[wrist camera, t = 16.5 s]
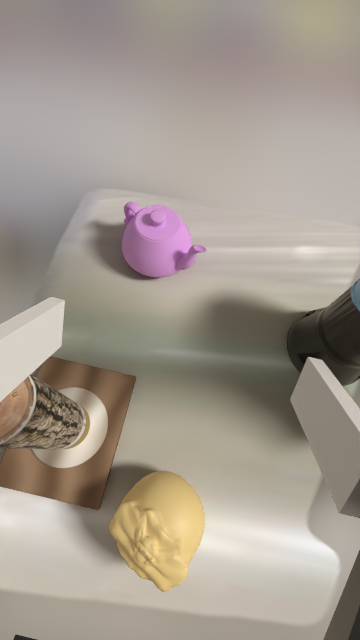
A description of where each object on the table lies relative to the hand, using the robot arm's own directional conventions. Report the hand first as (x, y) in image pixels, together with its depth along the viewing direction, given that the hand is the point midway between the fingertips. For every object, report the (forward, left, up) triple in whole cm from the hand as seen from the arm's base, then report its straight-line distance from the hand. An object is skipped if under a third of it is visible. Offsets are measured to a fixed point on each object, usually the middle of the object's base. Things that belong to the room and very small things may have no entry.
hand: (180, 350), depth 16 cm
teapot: (+8, -32, -38) cm, 50 cm away
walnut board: (+14, +4, -38) cm, 40 cm away
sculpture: (-3, +13, -38) cm, 40 cm away
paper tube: (+14, +4, -36) cm, 39 cm away
